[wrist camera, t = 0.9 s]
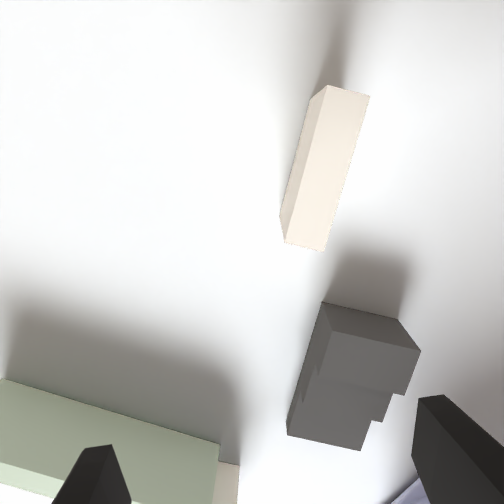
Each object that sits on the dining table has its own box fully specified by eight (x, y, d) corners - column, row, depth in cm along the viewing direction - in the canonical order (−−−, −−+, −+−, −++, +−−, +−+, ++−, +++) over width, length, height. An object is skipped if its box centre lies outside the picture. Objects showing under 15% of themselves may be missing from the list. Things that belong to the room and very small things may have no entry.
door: (220, 444, 26) (209, 523, 21) (211, 469, 27) (197, 552, 21) (2, 378, 25) (-68, 442, 20) (-4, 404, 26) (-73, 473, 20)
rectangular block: (218, 538, 28) (207, 641, 23) (195, 533, 28) (177, 635, 23) (341, 107, 21) (370, 95, 15) (310, 99, 21) (327, 84, 15)
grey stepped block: (321, 299, 24) (332, 330, 20) (395, 317, 24) (421, 350, 20) (285, 418, 26) (289, 467, 22) (354, 433, 26) (370, 484, 22)
